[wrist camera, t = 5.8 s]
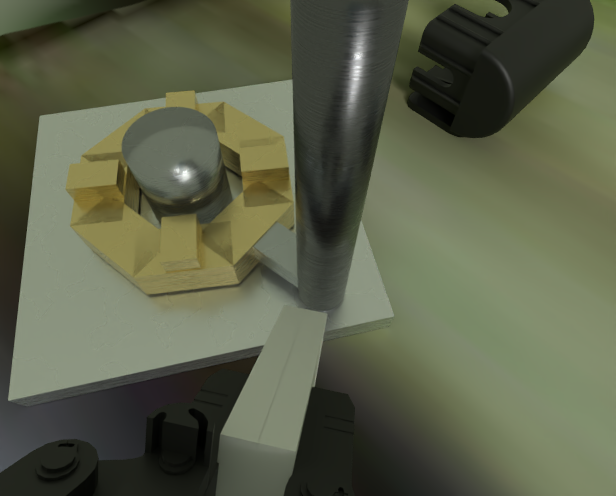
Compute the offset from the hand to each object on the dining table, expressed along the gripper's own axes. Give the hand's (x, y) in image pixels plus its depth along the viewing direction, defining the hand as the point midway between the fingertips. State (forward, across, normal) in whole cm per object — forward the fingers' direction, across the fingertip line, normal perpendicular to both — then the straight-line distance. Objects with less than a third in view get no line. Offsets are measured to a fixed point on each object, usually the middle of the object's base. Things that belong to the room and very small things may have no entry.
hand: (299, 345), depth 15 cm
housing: (+11, +8, -1) cm, 14 cm away
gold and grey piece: (+9, +6, -1) cm, 11 cm away
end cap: (+21, -8, -11) cm, 25 cm away
